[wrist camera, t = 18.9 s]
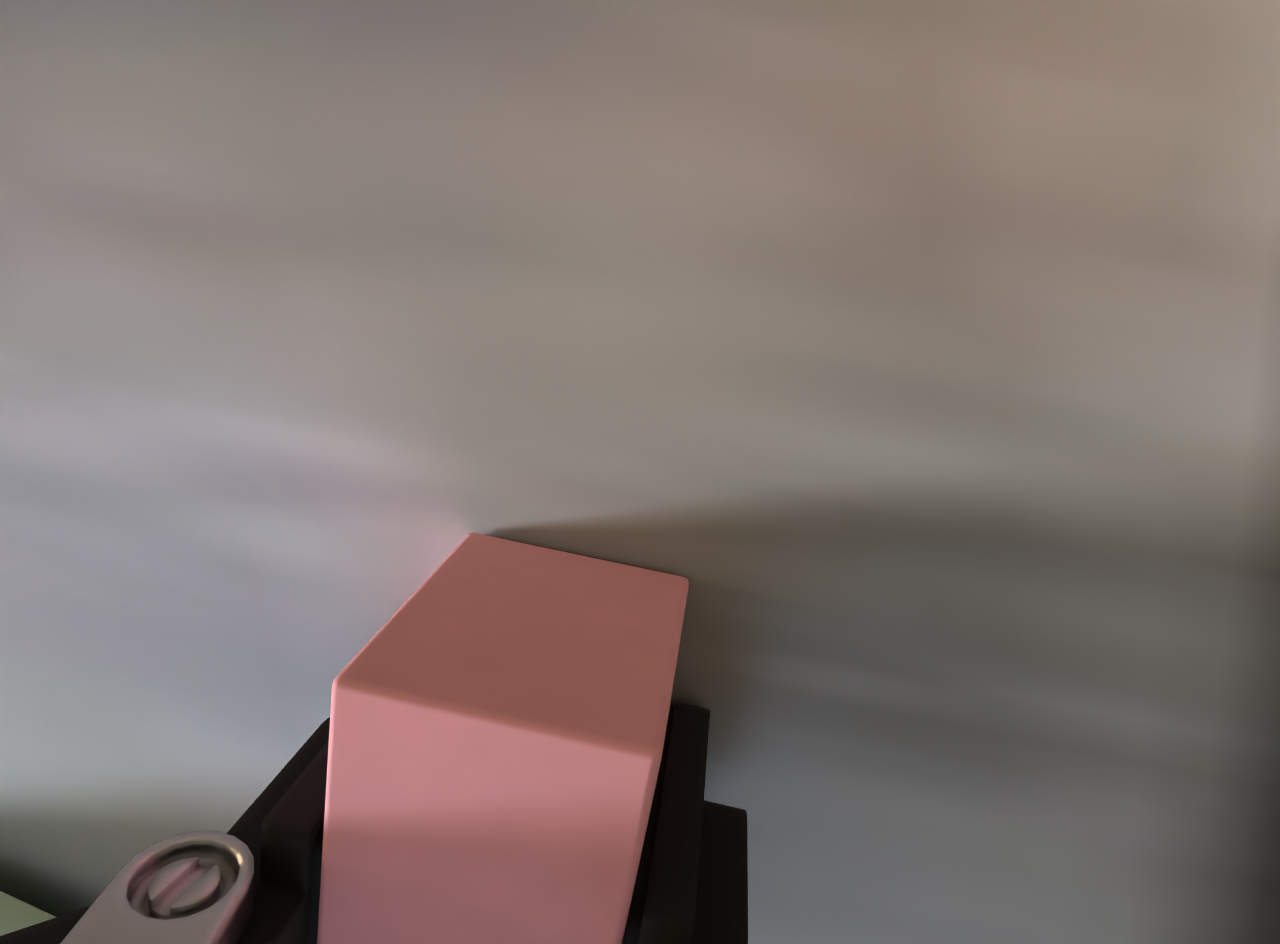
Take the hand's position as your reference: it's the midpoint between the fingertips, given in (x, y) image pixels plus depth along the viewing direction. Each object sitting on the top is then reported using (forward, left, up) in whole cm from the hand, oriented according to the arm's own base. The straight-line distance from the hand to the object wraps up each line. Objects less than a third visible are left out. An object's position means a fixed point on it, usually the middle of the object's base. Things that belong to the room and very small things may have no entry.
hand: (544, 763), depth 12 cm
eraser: (0, 0, 0) cm, 0 cm away
